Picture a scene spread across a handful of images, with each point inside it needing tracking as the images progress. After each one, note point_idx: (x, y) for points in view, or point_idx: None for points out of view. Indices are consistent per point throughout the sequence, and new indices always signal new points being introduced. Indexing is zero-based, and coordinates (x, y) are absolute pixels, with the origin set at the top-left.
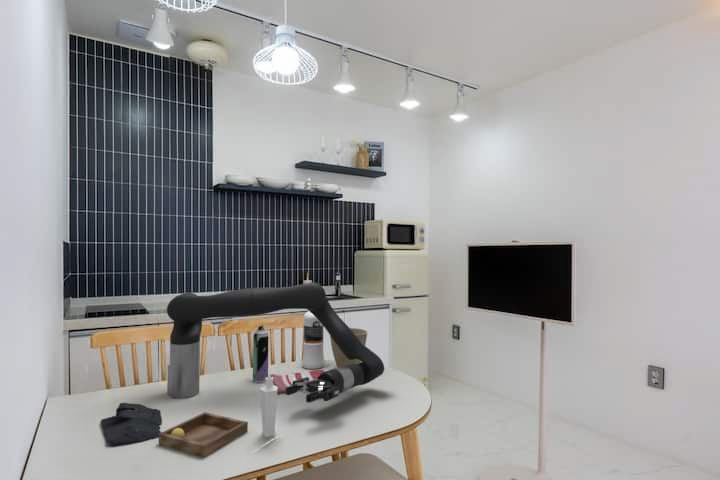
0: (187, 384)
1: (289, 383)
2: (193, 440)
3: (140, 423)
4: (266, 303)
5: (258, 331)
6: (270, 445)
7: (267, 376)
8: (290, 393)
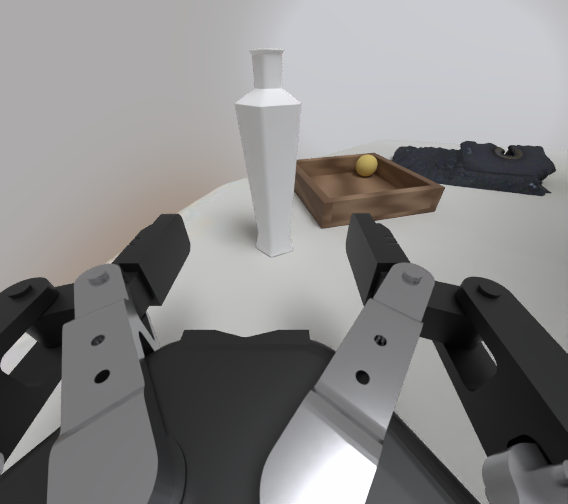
0: None
1: None
2: (352, 182)
3: (438, 155)
4: None
5: None
6: (236, 229)
7: None
8: (351, 258)
